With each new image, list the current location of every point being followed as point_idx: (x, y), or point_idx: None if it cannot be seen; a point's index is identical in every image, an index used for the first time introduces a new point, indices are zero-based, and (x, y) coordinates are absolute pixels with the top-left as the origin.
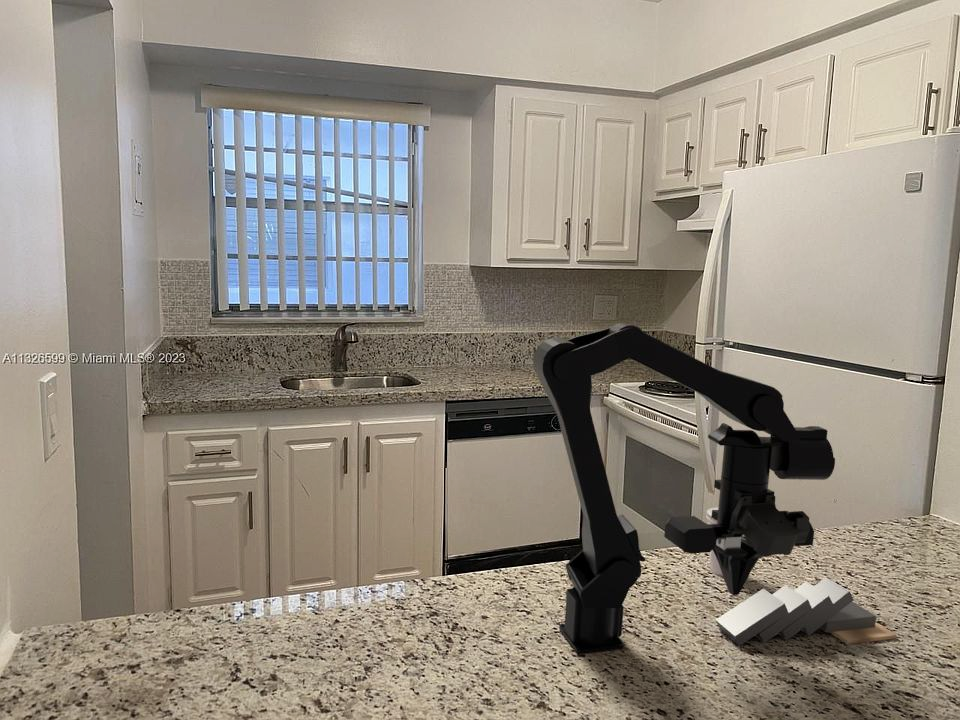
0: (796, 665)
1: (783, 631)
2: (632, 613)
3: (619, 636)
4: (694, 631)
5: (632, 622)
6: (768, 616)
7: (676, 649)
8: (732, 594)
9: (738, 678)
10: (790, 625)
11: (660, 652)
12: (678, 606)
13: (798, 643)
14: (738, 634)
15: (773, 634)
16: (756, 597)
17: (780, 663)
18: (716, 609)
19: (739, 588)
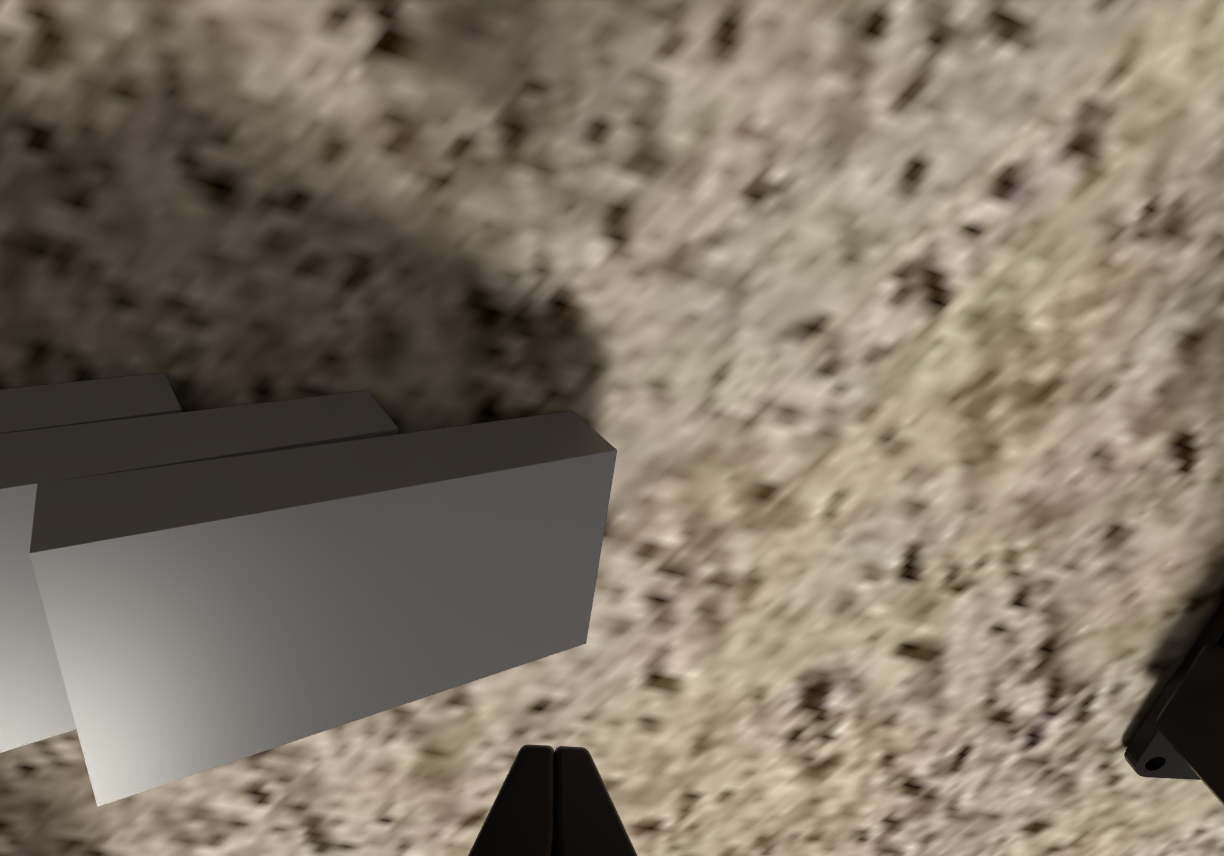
0: (322, 53)
1: (171, 407)
2: (887, 802)
3: (1218, 643)
4: (717, 609)
5: (960, 743)
6: (285, 496)
7: (982, 485)
8: (587, 758)
9: (917, 59)
10: (77, 422)
11: (1095, 483)
12: None
13: (94, 316)
14: (590, 451)
15: (274, 408)
16: (228, 728)
17: (437, 125)
18: (407, 753)
19: (531, 806)
